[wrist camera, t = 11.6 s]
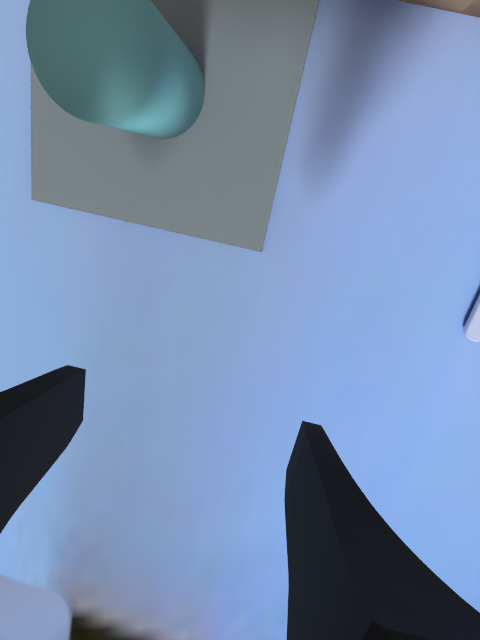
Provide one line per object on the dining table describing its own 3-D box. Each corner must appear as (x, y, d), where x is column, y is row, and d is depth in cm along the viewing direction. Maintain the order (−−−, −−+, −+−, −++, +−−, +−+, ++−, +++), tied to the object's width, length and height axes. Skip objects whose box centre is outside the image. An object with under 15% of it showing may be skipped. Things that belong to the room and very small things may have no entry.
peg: (212, 47, 16) (170, -25, 10) (196, 148, 18) (150, 137, 12) (121, 25, 16) (26, -60, 10) (112, 127, 18) (25, 106, 12)
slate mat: (329, -47, 15) (330, -53, 15) (261, 250, 20) (261, 252, 19) (35, -109, 15) (29, -116, 15) (36, 199, 20) (31, 199, 19)
